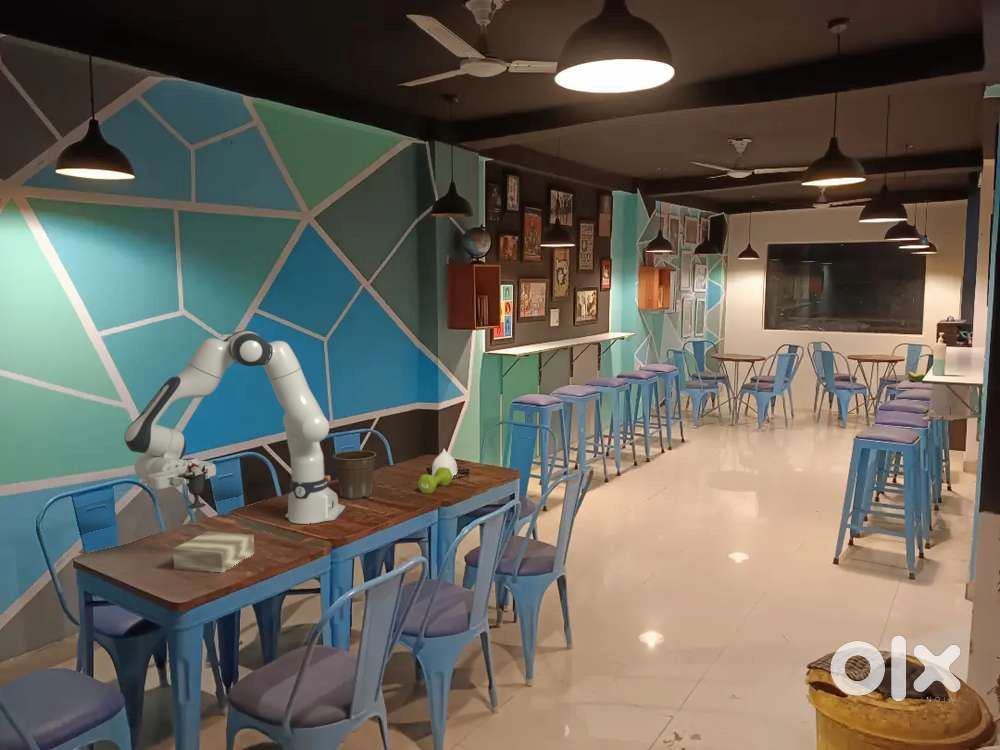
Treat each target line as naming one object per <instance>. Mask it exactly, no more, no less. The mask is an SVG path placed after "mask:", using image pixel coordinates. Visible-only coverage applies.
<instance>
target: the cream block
mask: <svg viewBox="0 0 1000 750" xmlns="http://www.w3.org/2000/svg"><path fill="white" fill-rule="evenodd" d="M254 537H255V535H254V534H249V533H248V534H247V533H238V532H237V533H233V532H223V531H221V532H220V531H210V530H209V531H206V532H204V533H202V534H199V535H197V536H196V537H194V538H191V539H190V540H188V541H186V542H184V543H182V544H179V545H178V546H175V547H174V548H172V556H173V557H172V558H173V569H174V570H181V569H183V570H185V571H192V570H193V571H194V572H203V571H206V572H205V573H214V572H220V573H219V574H224V573H225V571H226V570H227V571H229V570H230V569H232V568H234V567H235V566H237V565H238V563H239V562H240V563H242V562H244V561H245V560H247V559H249V558H251V557H252V556H253V554H254V553H255V540H254ZM251 555H252V556H251ZM254 555H255V554H254ZM248 557H249V558H248ZM246 558H247V559H246ZM244 559H245V560H244ZM243 560H244V561H243ZM241 561H242V562H241ZM240 563H239V564H240ZM236 564H237V565H236ZM234 565H235V566H234ZM233 566H234V567H233ZM231 567H232V568H231ZM228 569H229V570H228ZM183 570H182V571H183ZM207 571H209V572H207ZM227 571H226V572H227ZM223 572H224V573H223Z"/></svg>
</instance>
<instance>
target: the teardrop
mask: <svg viewBox="0 0 1000 750" xmlns="http://www.w3.org/2000/svg"><path fill="white" fill-rule="evenodd" d="M455 459H456V458H454V457H453V455H451V454H450V453H448V452H447V451H446V449H445V448H443V450H442V452H440V454H438V455H437V456H436V457H435V458H434V460H433V462H432V464H431V466H432V467H431V475H432V476H433V477H434V475H435V472H436V471H437V469H438V468H441V467H444V468H448V469H449V470H450V471H451V473H452V476H454V475H456V474H457V472H458V464H457V461H456V460H455Z"/></svg>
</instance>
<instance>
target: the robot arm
mask: <svg viewBox="0 0 1000 750" xmlns="http://www.w3.org/2000/svg"><path fill="white" fill-rule="evenodd" d="M234 363H235V364H236V363H238V364H240V365H242V366H245V367H255V366H256V367H258V366H262V367H263V368H264V370H265V372H266V374H267V377H268V379H269V382H270V384H271V387H272V389H273V393H274V395H275V397H276V399H277V401H278V402H279V404H280V405H281V407H282V408H283V410H284V415H283V417H282V423H283V426H284V429H285V436H286V442H287V445H288V451H289V456H290V468H291V469H290V470H291V471H290V472H291V479H290V491H291V492H290V493H289V494H288V504H287V505H288V506H287V509H288V510H287V513H285V518H287V519H288V521H289V522H290V523H293V524H300V525H307V524H308V525H310V523H311V524H317V523H321V522H328V521H330V522H331V521H335V520H336V519H337V518H338V516H340V515H341V513H342V512H343V511H344V510H345V509H346V505H343V504H340V503H339V498H338V494H337V492H335V491H334V490H332V489H331V488H330V487H329V484H328V482H331V475H325V462H324V461H325V458H324V453H323V450H322V448H321V444H320V441H323V440H324V439H325V438H326V437H327V436H328V434H329V433H330V432H329V431H330V423H329V420H328V419H327V418H326V416H325V414H324V412H323V411H322V409H321V407H320V404H319V403H318V401H317V399H316V398H315V396H314V394H313V393H312V391H311V389H310V386H309V384H308V382H307V380H306V377H305V375H304V373H303V370H302V366H301V364H300V362H299V360H298V358H297V356H296V355H295V353H294V351H293V349H292V348H291V346H290V345H289V344H288V342H286V341H283V340H274V341H271V342H268V341H266V340H265V339H264V338H263V337H261V336H260V335H259V334H258V333H255V332H254V331H249V330H240V331H237V332H235V333H233V334H231V335H230V336H228V337H226V338H225V339H224V340H222V339H219V338H216V337H215V338H214V337H213V338H211V337H210V338H207V339H205V340H204V341H203V342H202V343H200V345H199V347H198V348H197V350H196V351H195V352H194V354H193V355H192V357H191V358H190V360H189V362H188V364H187V366H185V368H184V369H183V370H182V371H181V372H180V373H179V374H177V375H176V376H172V377H170V378H168V379H167V381H165V383H163V385H162V386H161V387H160V388H159V390H158V391H157V392H156V394H155V395H154V396H153V398H152V399H151V400H150V401H149V403H148V404H146V406H145V408H144V409H143V410H142V412H141V413H140V414H139V416H137V418H135V420H134V421H132V422H131V423H130V424H129V425H128V427H127V428H126V429H125V433H124V436H123V437H124V441H125V445H126V446H127V448H128V449H129V451H131V452H134V453H139V454H144V455H141V456H140V457H138V458H137V459H136V460H135V463H134V465H133V466H134V467H133V468H134V472H135V474H136V476H137V477H138V478H139V479H140V480H141V482H142V483H143V484H147V485H148V487H149V488H151V489H154V490H156V491H157V490H158V491H159V490H162V489H167V488H168V489H169V488H170V489H175V488H177V487H180V486H181V485H184V486H185V485H187V484H189V479H188V478H185V477H183V474H184V473H185V471H186V470H187V469H188V468H187V466H188V464H189V465H190V466H191V465H192V463H195V464H196V465H199V466H200V467H201V469H202V468H203V467H204V465H205V471H204V472H207V473H206V474H205V476H204V481H205V480H209V479H210V478H211V477H215V476H216V474H217V466H216V464H215V463H213V462H209V461H205V460H199V458H198V457H197V458H196V457H191V458H190V457H189V458H188V457H187V458H183V457H184V455H185V453H186V449H187V440H186V437H185V435H184V433H183V432H182V431H179V430H176V429H172V428H170V427H167V426H162V425H160V424H157V423H158V421H159V420H160V418H161V417H162V416H163V415H164V414H165V412H166V411H167V410H168V408H169V407H170V405H171V404H173V403H174V402H176V401H178V400H181V399H183V400H184V399H198V398H203V397H207V396H209V395H210V394H211V395H212V393H213V392H215V390H216V389H217V388H218V386H219V384H220V383H221V380H222V378H223V376H224V374H225V372H226V371H227V369H228V368H229V367H230V366H231V365H232V364H234ZM186 459H189V460H190V461H191V462H192V463H191V462H190V461H189V460H188V461H189V462H188V461H187V460H186Z"/></svg>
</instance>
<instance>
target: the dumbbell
mask: <svg viewBox="0 0 1000 750" xmlns="http://www.w3.org/2000/svg"><path fill="white" fill-rule="evenodd" d="M452 480H453V476H452V473H451V471H450V470H449V469H448V468H444V467H441V468H438V469H437V471H436V472H435V475H434V477H433V476H432V474H427V473H426V474H422V475H420V477H419V479H418V481H417V486H418V488H419V491H420V492H421V493H422V494H428V495H429V494H433V493H434V492H435V490H436V489H437V487H438V486H442V487H443V486H444V487H447V486H449V485H450V484H451V482H452Z"/></svg>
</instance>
